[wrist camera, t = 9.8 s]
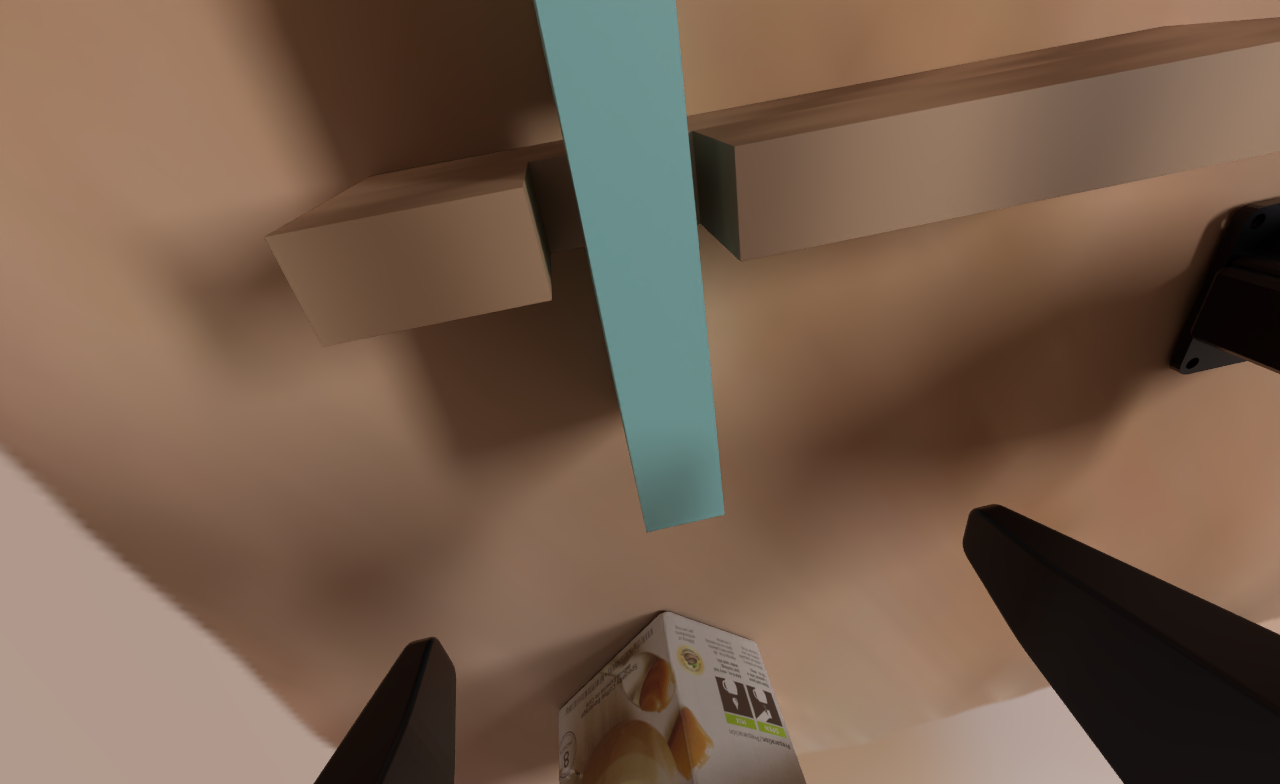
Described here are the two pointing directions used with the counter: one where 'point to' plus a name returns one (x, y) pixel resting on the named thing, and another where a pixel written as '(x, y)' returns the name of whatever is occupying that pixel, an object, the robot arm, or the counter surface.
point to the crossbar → (640, 237)
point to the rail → (802, 171)
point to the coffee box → (678, 714)
